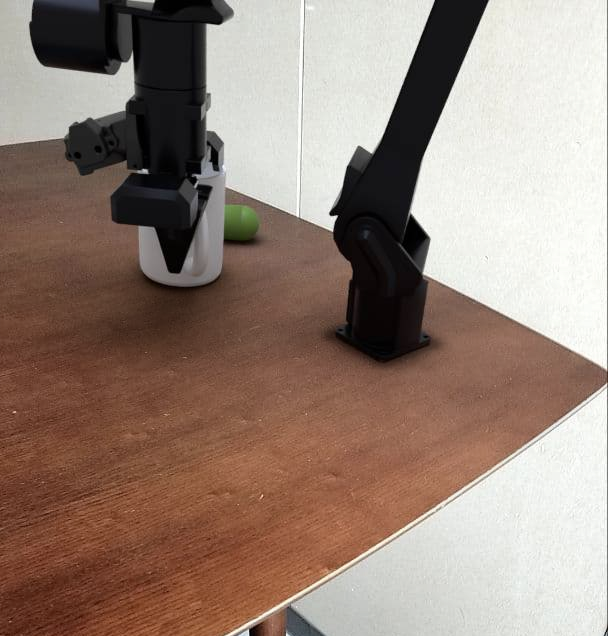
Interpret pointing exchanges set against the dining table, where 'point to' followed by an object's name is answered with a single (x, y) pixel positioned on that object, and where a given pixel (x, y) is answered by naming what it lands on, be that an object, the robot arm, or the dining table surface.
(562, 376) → the dining table surface
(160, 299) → the dining table surface
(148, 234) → the mug
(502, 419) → the dining table surface
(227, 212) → the pickle
